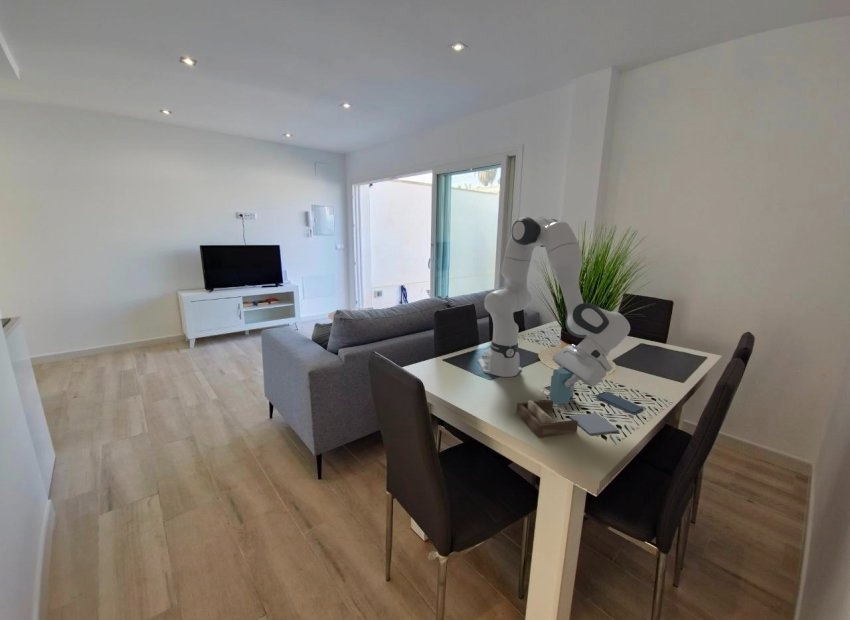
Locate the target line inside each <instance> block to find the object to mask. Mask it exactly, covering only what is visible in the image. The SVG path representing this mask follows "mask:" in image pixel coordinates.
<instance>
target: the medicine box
mask: <svg viewBox="0 0 850 620" xmlns="http://www.w3.org/2000/svg"><path fill="white" fill-rule="evenodd" d="M552 379H553V375H551V377H550V385H549V386H550V389H549V396H550V395H551V387H552ZM575 384H576V383H573V384H572V385H571V392H570V399H573V398H574V392H575Z"/></svg>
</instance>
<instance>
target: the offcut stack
mask: <svg viewBox="0 0 850 620" xmlns="http://www.w3.org/2000/svg"><path fill="white" fill-rule="evenodd" d="M527 402H528V408H527V410H528V411H529V412H530V413H531V414H532V415H533V416H534V417H535V418H536V419H537V420H538V421H539V422H540V423H541V424H544V423H552V417H551V416H550V415H549V414H548V412H544V411H543V410H542V409H541V408H540V407H539V406H538V405H536V404H535V403H534V402H533V400H531V399H529V400H528V401H527Z"/></svg>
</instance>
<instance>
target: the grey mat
mask: <svg viewBox="0 0 850 620" xmlns="http://www.w3.org/2000/svg"><path fill="white" fill-rule="evenodd" d="M568 418H569V419H570V421H571V420H576V421H578V426H577V427H579V428H581V429H582V430H583V431H584V432H586V433H587V434H588V435H589V436H593V435H595V436H596V435H602V434H609V433H619V432H620V429H618V428H617V427H616V426H614V425H613V424H612V423H611V422H609V421H607V420H606V419H605V418H604V417H602V416H601V415H599V414H598V413H597V412H593V413H583V414H574V415H569V416H568Z"/></svg>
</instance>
